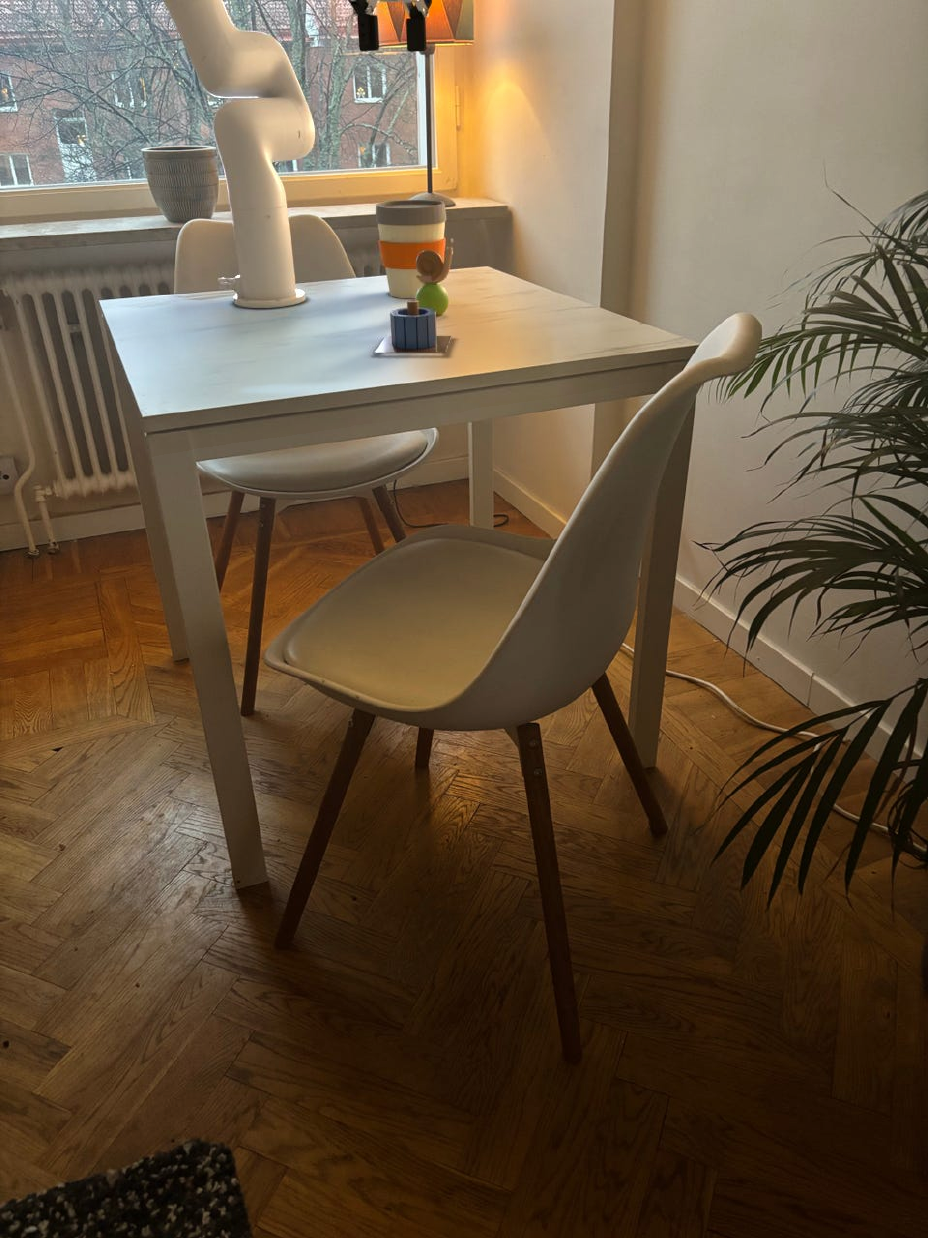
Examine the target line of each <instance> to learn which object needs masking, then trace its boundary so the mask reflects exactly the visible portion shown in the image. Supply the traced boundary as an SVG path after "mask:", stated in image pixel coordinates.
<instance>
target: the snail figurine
mask: <svg viewBox="0 0 928 1238" xmlns="http://www.w3.org/2000/svg"><path fill="white" fill-rule="evenodd" d="M448 243H449V244H453V243H454V239H453V238H450V239H449V240H448ZM453 255H454V248H453V246H447V247H445V250H444V263H443V261H442V258H441V257H440V255H439V254H438V253H437V252H435V251H432V250H424V251H422V252H421V253H420V254H419V255H418V256H417V258H416V269H417V271H418V272H419V273H420V274H421V275H422V276H420V275H417V276H416V278H417V279H418V280H419V281H420V282H421V283H423V284H424V285H423V286H421V287H420V288H419V290H418V291H417V294H416V298H414V300H417V301H418V307H421V308H422V307H423V308H430V309H433V310H435V311H436V317H438V316H442V315H443V314H444V313H445V312H446V311H447V309H448V307H449V303H450V302H449V301H450V297H449V294H448V292H447V290H446V288H445V287H444V286H443V285H441V284H440V283H441V282H443V281H445V279H447V277H448V275H449V272H450V269H451V265H452V260H453V259H452V257H453ZM439 282H440V283H439ZM437 283H439V284H437Z"/></svg>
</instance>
